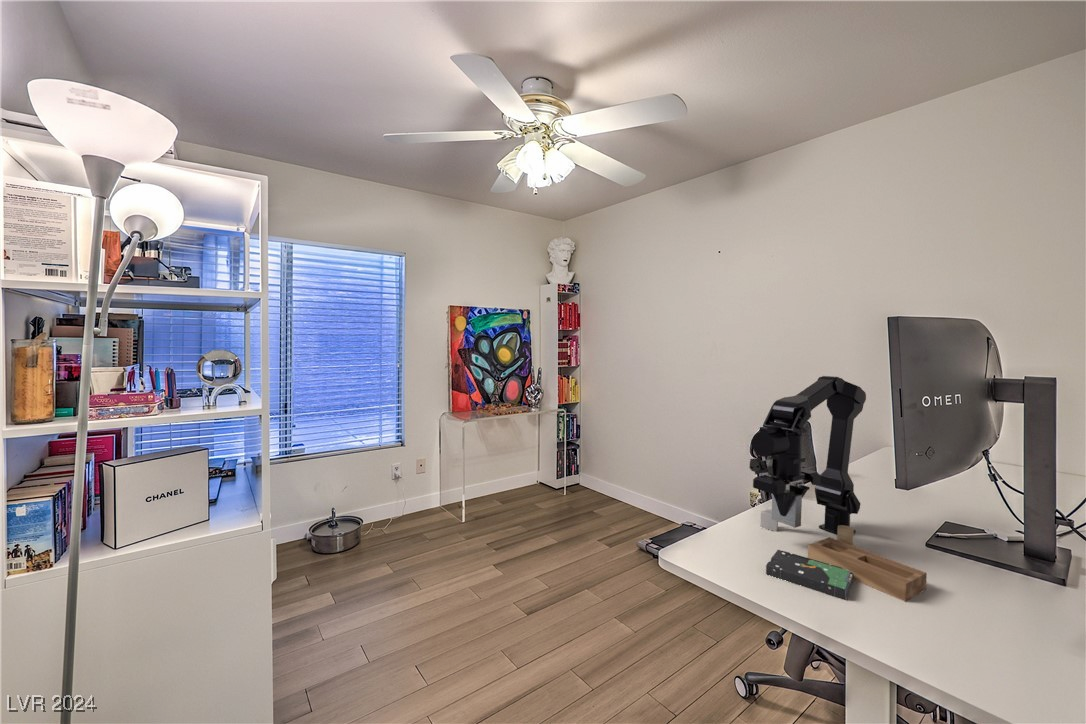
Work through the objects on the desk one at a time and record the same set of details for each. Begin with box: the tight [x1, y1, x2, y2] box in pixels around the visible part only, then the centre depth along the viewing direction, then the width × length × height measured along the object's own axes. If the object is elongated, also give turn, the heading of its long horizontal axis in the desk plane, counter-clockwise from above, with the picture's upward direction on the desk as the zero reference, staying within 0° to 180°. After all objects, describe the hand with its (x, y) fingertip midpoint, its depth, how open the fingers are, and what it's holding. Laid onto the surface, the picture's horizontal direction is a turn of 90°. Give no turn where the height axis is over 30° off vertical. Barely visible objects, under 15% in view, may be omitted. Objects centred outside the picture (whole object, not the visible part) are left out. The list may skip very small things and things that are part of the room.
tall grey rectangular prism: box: [771, 493, 803, 528], centre depth 108 cm, size 2×6×8 cm, turn 29°
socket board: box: [807, 536, 928, 602], centre depth 97 cm, size 9×19×4 cm, turn 29°
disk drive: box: [765, 549, 854, 601], centre depth 95 cm, size 10×3×15 cm
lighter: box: [759, 508, 779, 532], centre depth 119 cm, size 7×2×8 cm, turn 57°
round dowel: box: [836, 525, 855, 546], centre depth 107 cm, size 3×3×6 cm
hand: (786, 514), depth 108 cm, fingers closed on tall grey rectangular prism, 2 cm apart
